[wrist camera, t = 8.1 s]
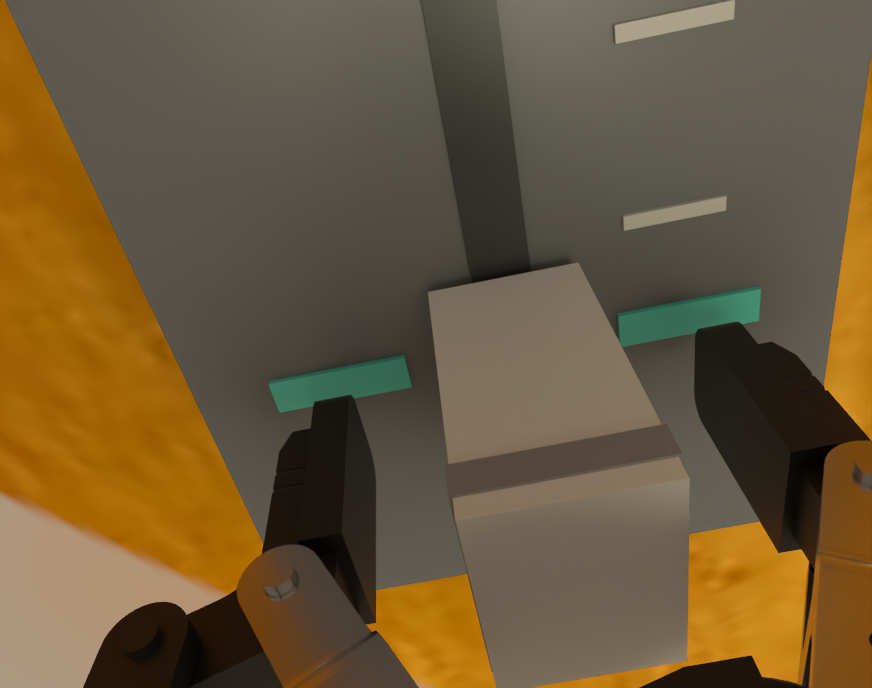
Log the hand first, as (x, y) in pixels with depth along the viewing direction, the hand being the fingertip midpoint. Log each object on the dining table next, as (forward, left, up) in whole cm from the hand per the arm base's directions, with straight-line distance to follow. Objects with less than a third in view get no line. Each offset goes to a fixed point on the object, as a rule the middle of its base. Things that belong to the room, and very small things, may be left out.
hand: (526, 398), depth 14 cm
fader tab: (0, 0, -1) cm, 1 cm away
